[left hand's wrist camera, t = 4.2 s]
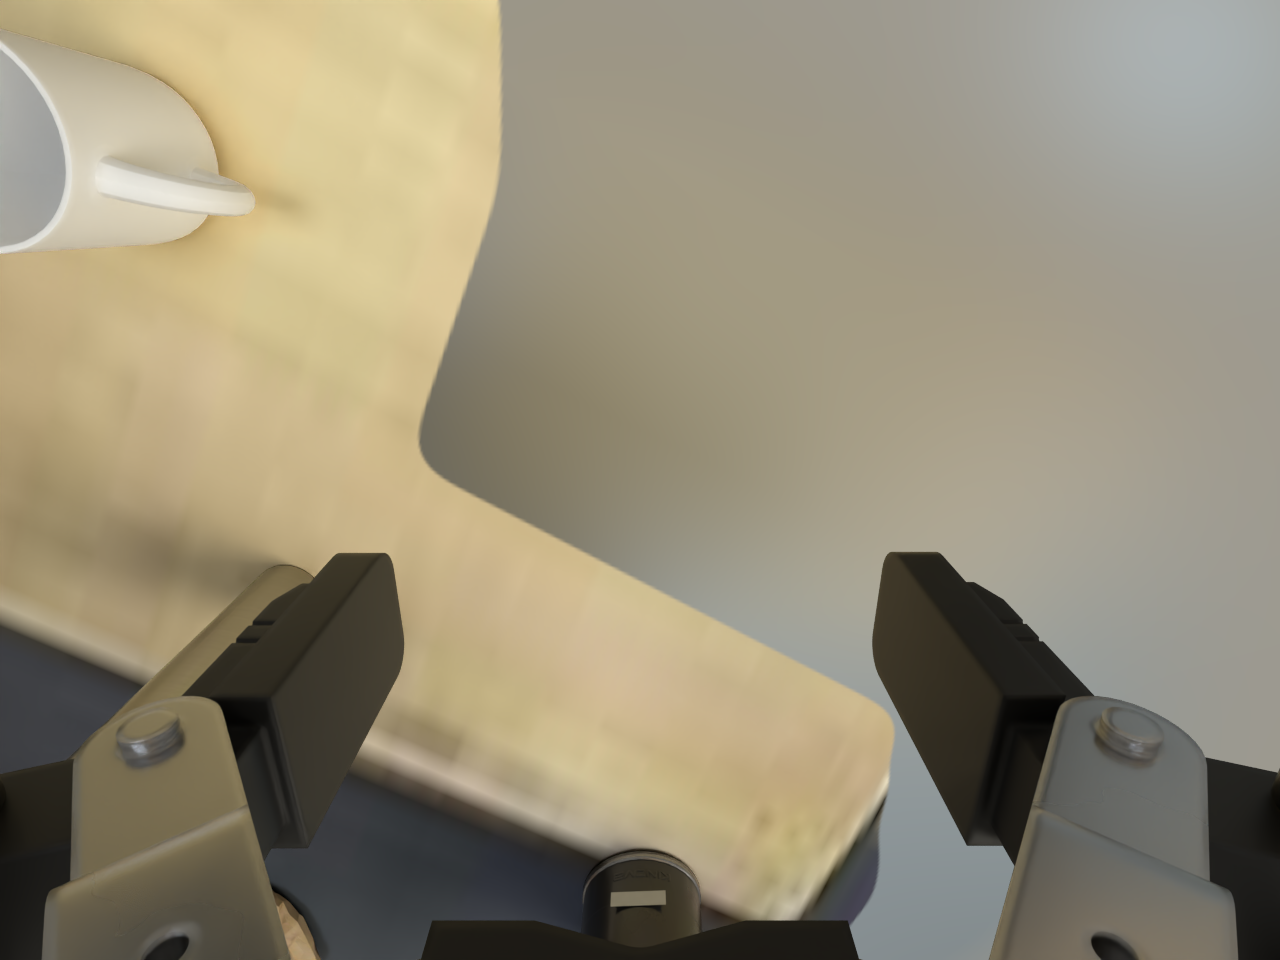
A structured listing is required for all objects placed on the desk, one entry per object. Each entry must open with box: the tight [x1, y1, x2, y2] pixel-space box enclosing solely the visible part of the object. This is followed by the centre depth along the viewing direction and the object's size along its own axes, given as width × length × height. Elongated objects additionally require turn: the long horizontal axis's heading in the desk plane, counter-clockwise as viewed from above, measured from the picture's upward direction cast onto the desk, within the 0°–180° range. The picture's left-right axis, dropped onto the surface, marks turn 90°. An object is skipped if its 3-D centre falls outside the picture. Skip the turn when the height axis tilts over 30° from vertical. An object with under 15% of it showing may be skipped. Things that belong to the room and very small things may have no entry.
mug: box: [0, 28, 256, 254], centre depth 30 cm, size 12×8×10 cm
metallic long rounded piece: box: [67, 565, 314, 760], centre depth 36 cm, size 4×4×19 cm
